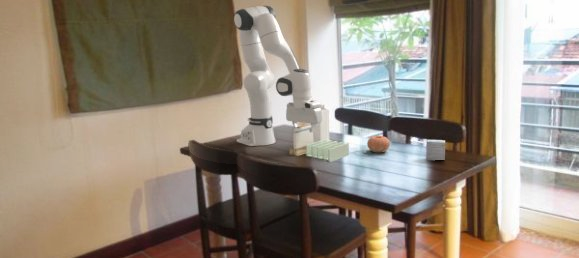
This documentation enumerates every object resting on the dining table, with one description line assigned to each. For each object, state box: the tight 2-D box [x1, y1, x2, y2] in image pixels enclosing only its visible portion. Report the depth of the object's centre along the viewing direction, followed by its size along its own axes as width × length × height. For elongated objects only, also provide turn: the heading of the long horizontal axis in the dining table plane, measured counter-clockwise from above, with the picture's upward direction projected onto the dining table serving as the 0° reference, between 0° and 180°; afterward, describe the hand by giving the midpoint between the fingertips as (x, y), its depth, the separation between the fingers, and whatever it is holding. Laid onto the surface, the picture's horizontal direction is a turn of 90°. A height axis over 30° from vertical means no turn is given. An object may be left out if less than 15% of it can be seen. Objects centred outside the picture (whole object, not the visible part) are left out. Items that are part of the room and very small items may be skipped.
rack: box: [305, 139, 350, 163], centre depth 224 cm, size 14×15×6 cm
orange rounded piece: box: [366, 135, 391, 154], centre depth 229 cm, size 11×11×8 cm
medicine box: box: [425, 139, 446, 161], centre depth 212 cm, size 8×4×9 cm, turn 71°
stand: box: [289, 146, 306, 157], centre depth 231 cm, size 6×16×4 cm, turn 138°
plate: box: [292, 124, 313, 154], centre depth 230 cm, size 2×13×12 cm, turn 138°
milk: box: [313, 104, 330, 143], centre depth 241 cm, size 6×6×22 cm
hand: (304, 131), depth 229 cm, fingers open, 8 cm apart
